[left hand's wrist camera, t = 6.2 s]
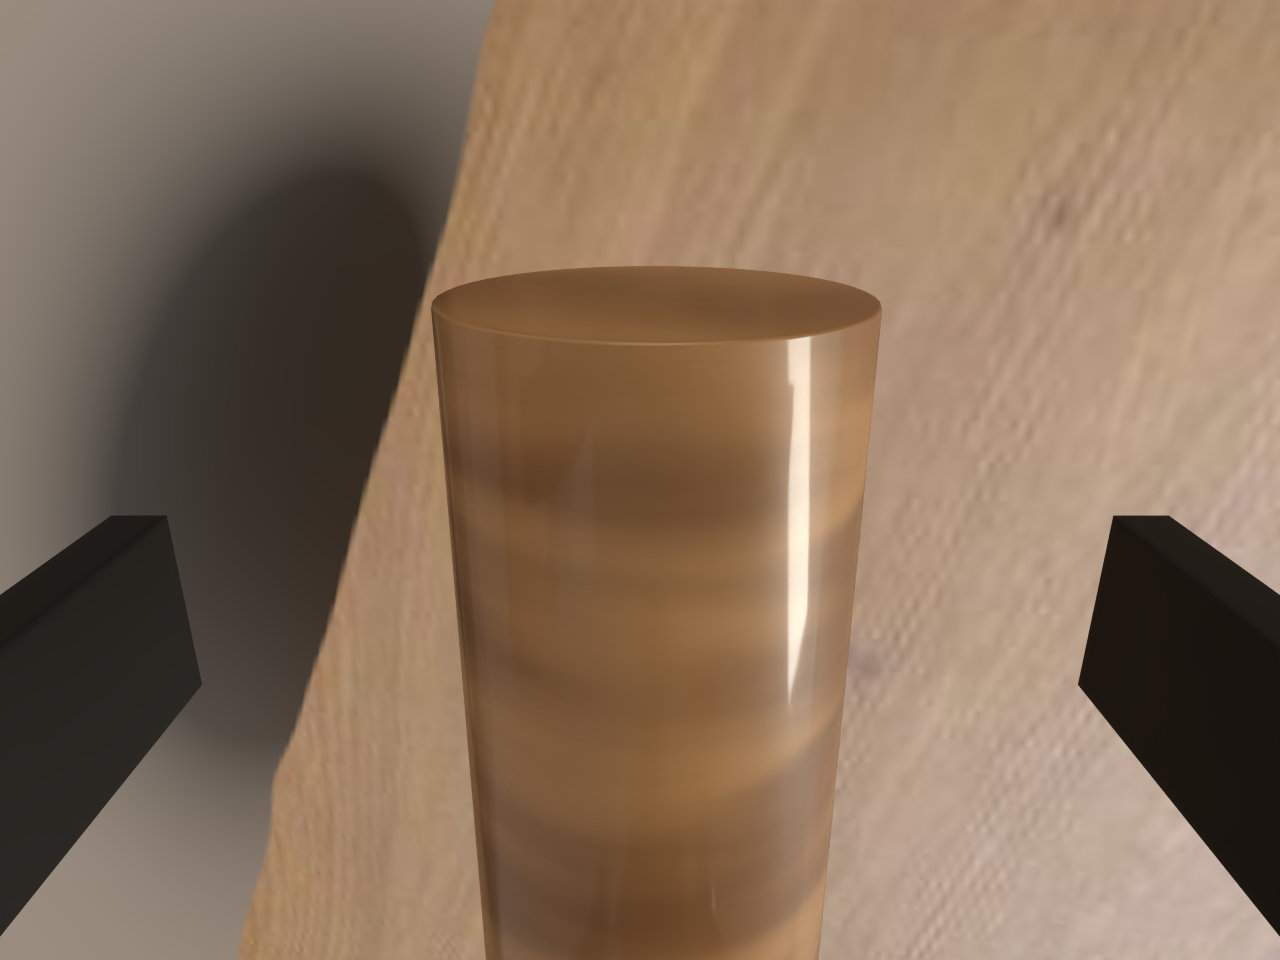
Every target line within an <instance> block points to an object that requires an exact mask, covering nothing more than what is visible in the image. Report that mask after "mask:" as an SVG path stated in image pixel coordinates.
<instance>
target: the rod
mask: <svg viewBox="0 0 1280 960" xmlns="http://www.w3.org/2000/svg"><path fill="white" fill-rule="evenodd" d="M431 312H432V324H433V336H434V347H435V359H436V371H437V383H438V395H439V407H440V419H441V431H442V442H443V454H444V466H445V478H446V490H447V502H448V514H449V526H450V537H451V549H452V561H453V573H454V585H455V597H456V609H457V620H458V632H459V644H460V656H461V668H462V680H463V692H464V704H465V715H466V727H467V739H468V751H469V763H470V775H471V787H472V799H473V810H474V822H475V834H476V846H477V858H478V870H479V882H480V894H481V905H482V917H483V929H484V941H485V953H486V960H818V958H819V948H820V938H821V928H822V917H823V907H824V897H825V887H826V877H827V866H828V856H829V846H830V836H831V826H832V815H833V805H834V795H835V785H836V775H837V764H838V754H839V744H840V734H841V724H842V713H843V703H844V693H845V683H846V673H847V662H848V652H849V642H850V632H851V622H852V611H853V601H854V591H855V581H856V571H857V560H858V550H859V540H860V530H861V520H862V509H863V499H864V489H865V479H866V469H867V458H868V448H869V438H870V428H871V418H872V407H873V397H874V387H875V377H876V367H877V356H878V346H879V336H880V326H881V316H882V307H881V304H880V301H879V300H878V299H877V298H876V297H875V296H873V295H871V294H869V293H867V292H865V291H863V290H860V289H857V288H855V287H852V286H848V285H845V284H841V283H837V282H833V281H828V280H823V279H818V278H812V277H806V276H799V275H792V274H785V273H776V272H767V271H755V270H744V269H729V268H709V267H679V266H627V267H596V268H577V269H562V270H551V271H540V272H531V273H522V274H515V275H508V276H501V277H496V278H490V279H485V280H480V281H476V282H471V283H468V284H465V285H461V286H458V287H455V288H453V289H450V290H448V291H445V292H444V293H442V294H440V295H438V296H437V297H436V298H435V299H434V300H433V302H432V307H431Z"/></svg>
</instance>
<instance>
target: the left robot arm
mask: <svg viewBox="0 0 1280 960" xmlns="http://www.w3.org/2000/svg"><path fill="white" fill-rule="evenodd" d="M201 685H202V682H201V678H200V673H199V668H198V663H197V659H196V654H195V649H194V644H193V640H192V635H191V630H190V625H189V621H188V616H187V611H186V606H185V601H184V597H183V592H182V587H181V582H180V577H179V573H178V568H177V563H176V558H175V554H174V549H173V544H172V539H171V534H170V530H169V525H168V520H167V516H110V517H109V518H107V519H106V520H105V521H103V522H102V523H100V524H99V525H98V526H96V527H95V528H93V529H92V530H91V531H89V532H88V533H86V534H85V535H84V536H82V537H81V538H79V539H78V540H77V541H75V542H74V543H72V544H71V545H70V546H68V547H67V548H65V549H64V550H63V551H61V552H60V553H58V554H57V555H55V556H54V557H53V558H51V559H50V560H48V561H47V562H46V563H44V564H43V565H41V566H40V567H39V568H37V569H36V570H35V571H33V572H32V573H30V574H29V575H27V576H26V577H25V578H23V579H22V580H21V581H19V582H18V583H16V584H15V585H14V586H12V587H11V588H9V589H8V590H6V591H5V592H4V593H2V594H1V595H0V936H1V935H2V934H3V932H4V931H5V930H6V929H7V927H8V926H9V925H10V924H11V922H12V921H13V920H14V919H15V917H16V916H17V915H18V914H19V912H20V911H21V910H22V909H23V907H24V906H25V905H26V903H27V902H28V901H29V900H30V899H31V897H32V896H33V895H34V894H35V892H36V891H37V890H38V889H39V887H40V886H41V885H42V884H43V882H44V881H45V880H46V879H47V877H48V876H49V875H50V874H51V872H52V871H53V870H54V869H55V867H56V866H57V865H58V864H59V862H60V861H61V860H62V859H63V857H64V856H65V855H66V854H67V852H68V851H69V850H70V849H71V847H72V846H73V845H74V844H75V842H76V841H77V840H78V839H79V837H80V836H81V835H82V834H83V832H84V831H85V830H86V829H87V827H88V826H89V825H90V824H91V822H92V821H93V820H94V819H95V817H96V816H97V815H98V814H99V812H100V811H101V810H102V809H103V808H104V806H105V805H106V804H107V802H108V801H109V800H110V799H111V797H112V796H113V795H114V794H115V793H116V791H117V790H118V789H119V788H120V786H121V785H122V784H123V783H124V781H125V780H126V779H127V778H128V776H129V775H130V774H131V773H132V771H133V770H134V769H135V768H136V766H137V765H138V764H139V763H140V761H141V760H142V759H143V758H144V756H145V755H146V754H147V753H148V751H149V750H150V749H151V748H152V746H153V745H154V744H155V743H156V741H157V740H158V739H159V738H160V736H161V735H162V734H163V733H164V731H165V730H166V729H167V728H168V726H169V725H170V724H171V723H172V721H173V720H174V719H175V718H176V716H177V715H178V714H179V713H180V711H181V710H182V709H183V708H184V706H185V705H186V704H187V703H188V701H189V700H190V699H191V698H192V696H193V695H194V694H195V693H196V691H197V690H198V689H199V688H200V686H201ZM1078 685H1079V687H1080V688H1081V689H1082V690H1083V691H1084V693H1085V694H1086V695H1087V696H1088V698H1089V699H1090V700H1091V701H1092V703H1093V704H1094V705H1095V706H1096V708H1097V709H1098V710H1099V711H1100V713H1101V714H1102V715H1103V716H1104V718H1105V719H1106V720H1107V721H1108V723H1109V724H1110V725H1111V726H1112V728H1113V729H1114V730H1115V731H1116V733H1117V734H1118V735H1119V736H1120V738H1121V739H1122V740H1123V741H1124V743H1125V744H1126V745H1127V746H1128V748H1129V749H1130V750H1131V751H1132V753H1133V754H1134V755H1135V756H1136V758H1137V759H1138V760H1139V761H1140V763H1141V764H1142V765H1143V766H1144V768H1145V769H1146V770H1147V771H1148V773H1149V774H1150V775H1151V776H1152V778H1153V779H1154V780H1155V781H1156V783H1157V784H1158V785H1159V786H1160V788H1161V789H1162V790H1163V791H1164V793H1165V794H1166V795H1167V796H1168V798H1169V799H1170V800H1171V801H1172V803H1173V804H1174V805H1175V806H1176V808H1177V809H1178V810H1179V811H1180V812H1181V814H1182V815H1183V816H1184V817H1185V819H1186V820H1187V821H1188V822H1189V824H1190V825H1191V826H1192V827H1193V829H1194V830H1195V831H1196V832H1197V834H1198V835H1199V836H1200V837H1201V839H1202V840H1203V841H1204V842H1205V844H1206V845H1207V846H1208V847H1209V849H1210V850H1211V851H1212V852H1213V854H1214V855H1215V856H1216V857H1217V859H1218V860H1219V861H1220V862H1221V864H1222V865H1223V866H1224V867H1225V869H1226V870H1227V871H1228V872H1229V874H1230V875H1231V876H1232V877H1233V879H1234V880H1235V881H1236V882H1237V884H1238V885H1239V886H1240V887H1241V889H1242V890H1243V891H1244V892H1245V894H1246V895H1247V896H1248V897H1249V899H1250V900H1251V901H1252V902H1253V904H1254V905H1255V906H1256V907H1257V909H1258V910H1259V911H1260V912H1261V914H1262V915H1263V916H1264V917H1265V919H1266V920H1267V921H1268V922H1269V924H1270V925H1271V926H1272V927H1273V929H1274V930H1275V931H1276V932H1277V934H1278V935H1279V936H1280V595H1279V594H1278V593H1276V592H1275V591H1274V590H1272V589H1271V588H1269V587H1268V586H1267V585H1265V584H1264V583H1262V582H1261V581H1260V580H1258V579H1257V578H1255V577H1254V576H1253V575H1251V574H1250V573H1248V572H1247V571H1246V570H1244V569H1243V568H1241V567H1240V566H1239V565H1237V564H1236V563H1234V562H1233V561H1232V560H1230V559H1229V558H1227V557H1226V556H1225V555H1223V554H1222V553H1220V552H1219V551H1217V550H1216V549H1215V548H1213V547H1212V546H1210V545H1209V544H1208V543H1206V542H1205V541H1203V540H1202V539H1201V538H1199V537H1198V536H1196V535H1195V534H1194V533H1192V532H1191V531H1189V530H1188V529H1187V528H1185V527H1184V526H1182V525H1181V524H1180V523H1178V522H1177V521H1175V520H1174V519H1173V518H1171V517H1170V516H1113V520H1112V525H1111V530H1110V534H1109V539H1108V544H1107V549H1106V553H1105V558H1104V563H1103V568H1102V573H1101V577H1100V582H1099V587H1098V592H1097V596H1096V601H1095V606H1094V611H1093V616H1092V620H1091V625H1090V630H1089V635H1088V639H1087V644H1086V649H1085V654H1084V659H1083V663H1082V668H1081V673H1080V678H1079V682H1078Z"/></svg>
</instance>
